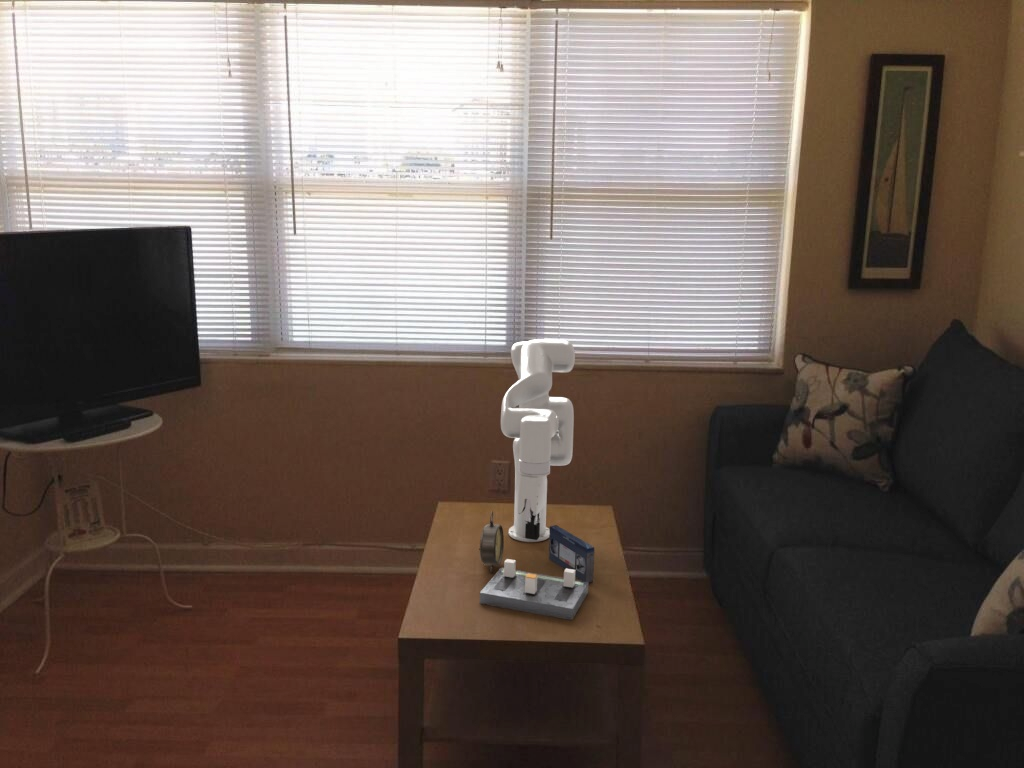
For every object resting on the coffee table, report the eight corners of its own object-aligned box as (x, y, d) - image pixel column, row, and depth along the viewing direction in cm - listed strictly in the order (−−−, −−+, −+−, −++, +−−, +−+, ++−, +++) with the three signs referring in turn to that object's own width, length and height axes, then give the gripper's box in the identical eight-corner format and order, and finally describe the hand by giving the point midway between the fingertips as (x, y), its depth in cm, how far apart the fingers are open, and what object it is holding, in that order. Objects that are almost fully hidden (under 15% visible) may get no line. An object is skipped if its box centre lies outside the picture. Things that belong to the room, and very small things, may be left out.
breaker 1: (506, 573, 238) (506, 558, 237) (515, 574, 238) (515, 560, 237) (503, 576, 236) (504, 561, 236) (513, 577, 236) (513, 563, 235)
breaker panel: (500, 578, 243) (500, 567, 242) (588, 592, 236) (588, 581, 235) (479, 603, 228) (479, 592, 228) (572, 620, 221) (572, 608, 220)
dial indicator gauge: (495, 575, 244) (497, 519, 241) (476, 573, 246) (477, 517, 242) (504, 559, 255) (505, 504, 251) (485, 557, 256) (486, 503, 252)
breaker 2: (565, 582, 233) (566, 568, 233) (574, 584, 233) (575, 569, 232) (563, 586, 232) (563, 571, 231) (572, 587, 231) (573, 572, 230)
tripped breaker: (527, 589, 229) (527, 573, 228) (536, 590, 229) (537, 574, 228) (524, 592, 227) (525, 576, 227) (534, 594, 227) (535, 577, 226)
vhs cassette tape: (548, 559, 256) (549, 525, 254) (556, 557, 258) (558, 524, 256) (584, 584, 241) (585, 549, 239) (593, 582, 242) (595, 547, 240)
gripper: (528, 456, 228) (526, 526, 232) (510, 473, 214) (508, 546, 218) (557, 460, 226) (555, 529, 230) (540, 477, 212) (538, 551, 216)
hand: (532, 538), depth 224 cm, fingers closed
